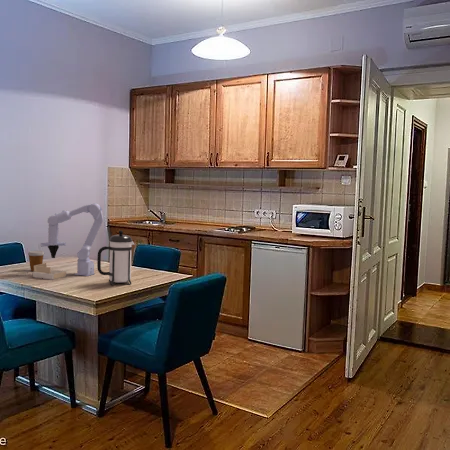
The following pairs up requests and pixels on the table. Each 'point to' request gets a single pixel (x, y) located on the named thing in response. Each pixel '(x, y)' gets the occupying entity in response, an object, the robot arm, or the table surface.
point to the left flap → (43, 269)
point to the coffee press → (118, 259)
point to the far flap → (39, 265)
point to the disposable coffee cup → (35, 258)
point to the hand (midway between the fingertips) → (53, 257)
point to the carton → (50, 274)
